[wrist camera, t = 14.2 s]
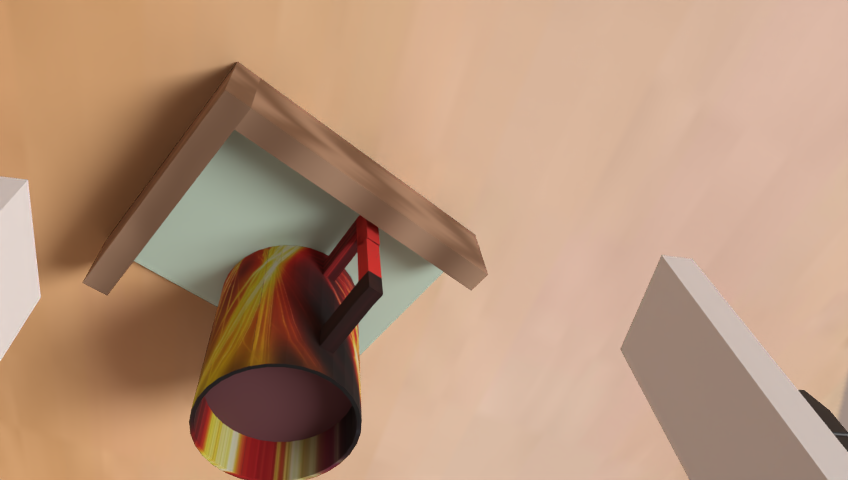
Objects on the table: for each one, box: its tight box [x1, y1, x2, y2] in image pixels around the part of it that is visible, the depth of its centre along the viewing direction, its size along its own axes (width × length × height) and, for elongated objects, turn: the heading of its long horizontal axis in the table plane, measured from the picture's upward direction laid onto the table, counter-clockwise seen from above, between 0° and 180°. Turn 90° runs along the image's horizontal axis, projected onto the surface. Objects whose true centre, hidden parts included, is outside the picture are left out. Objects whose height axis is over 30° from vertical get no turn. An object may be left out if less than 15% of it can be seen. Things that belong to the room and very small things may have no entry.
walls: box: [83, 62, 488, 295], centre depth 45 cm, size 20×16×5 cm
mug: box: [189, 215, 383, 480], centre depth 43 cm, size 10×14×12 cm
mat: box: [134, 130, 443, 356], centre depth 47 cm, size 18×14×1 cm
